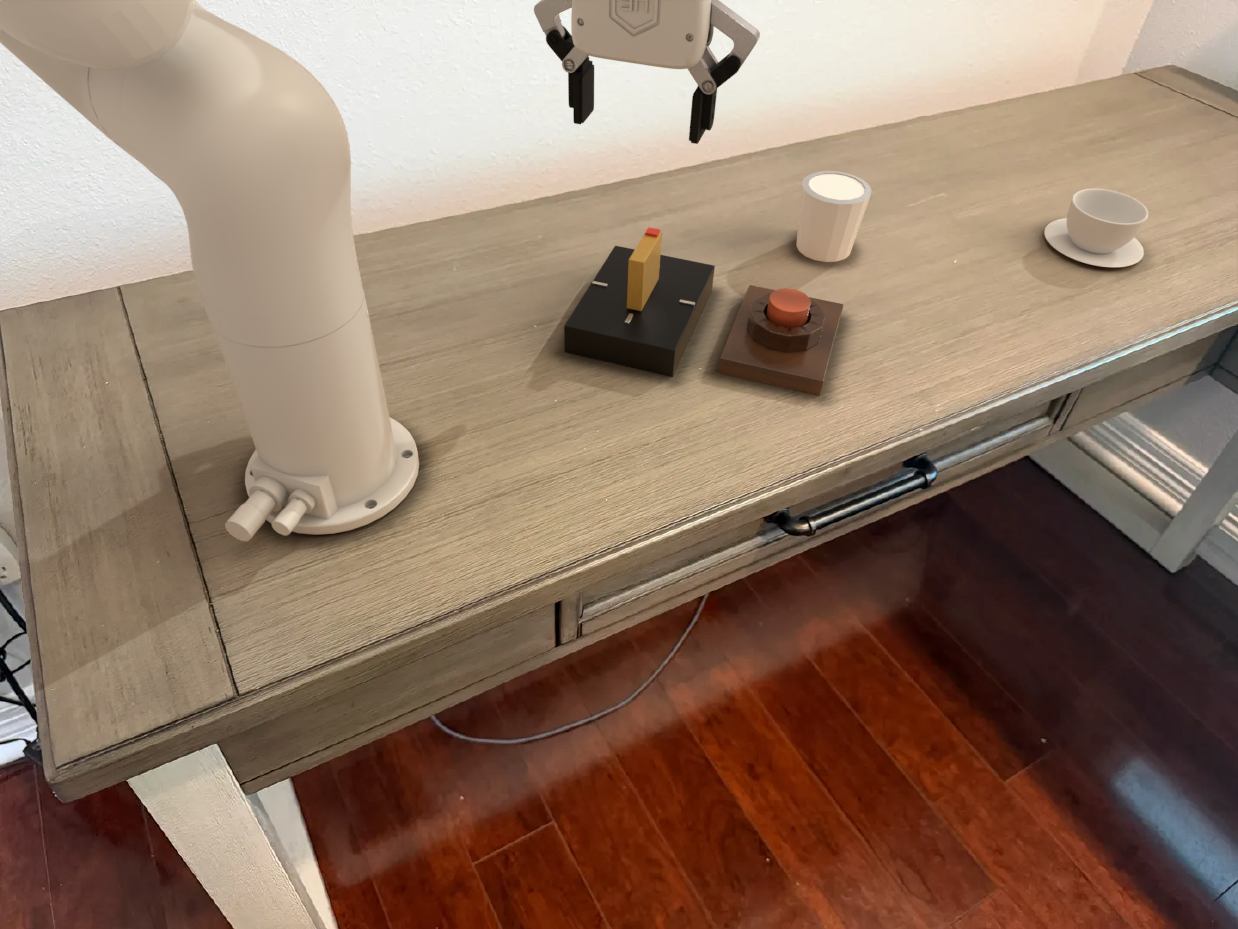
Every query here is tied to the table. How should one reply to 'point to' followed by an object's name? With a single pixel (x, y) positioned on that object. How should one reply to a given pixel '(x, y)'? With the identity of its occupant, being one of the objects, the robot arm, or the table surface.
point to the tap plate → (639, 315)
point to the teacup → (1100, 229)
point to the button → (788, 308)
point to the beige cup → (830, 214)
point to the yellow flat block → (644, 269)
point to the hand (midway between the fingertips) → (640, 126)
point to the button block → (780, 344)
